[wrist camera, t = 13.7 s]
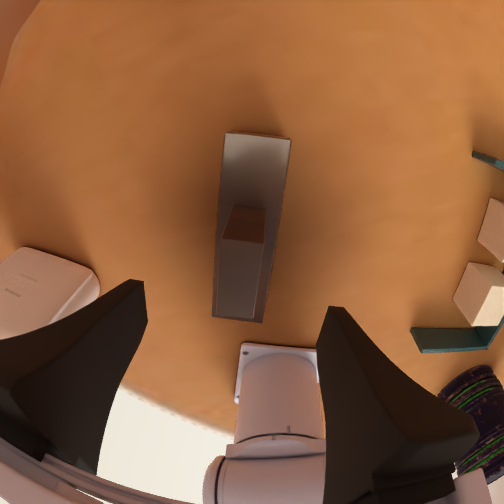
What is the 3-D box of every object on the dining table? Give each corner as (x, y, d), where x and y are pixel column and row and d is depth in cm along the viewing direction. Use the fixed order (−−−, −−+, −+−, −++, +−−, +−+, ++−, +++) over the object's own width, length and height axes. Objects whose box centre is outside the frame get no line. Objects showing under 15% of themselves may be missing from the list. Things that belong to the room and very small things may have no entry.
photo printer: (101, 266, 23) (17, 369, 12) (103, 305, 25) (37, 406, 14) (20, 239, 22) (-64, 309, 11) (26, 275, 24) (-45, 348, 13)
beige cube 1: (478, 301, 22) (497, 325, 19) (451, 299, 22) (471, 326, 19) (494, 266, 20) (517, 288, 17) (468, 261, 20) (492, 285, 17)
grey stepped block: (263, 294, 23) (260, 373, 16) (219, 289, 23) (198, 365, 16) (287, 135, 17) (300, 148, 10) (232, 128, 17) (206, 138, 10)
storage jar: (495, 380, 28) (531, 455, 15) (443, 417, 32) (468, 495, 18) (487, 353, 26) (535, 444, 12) (425, 397, 29) (456, 495, 16)
